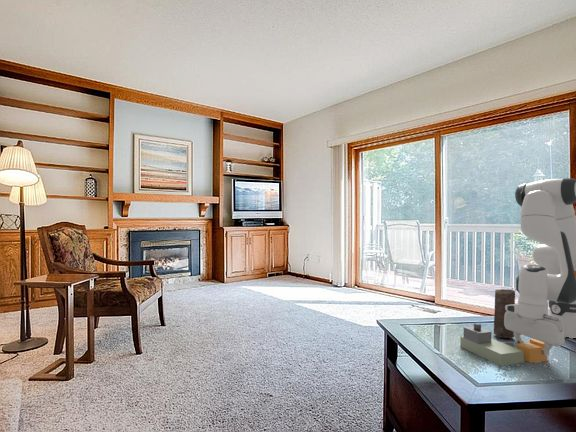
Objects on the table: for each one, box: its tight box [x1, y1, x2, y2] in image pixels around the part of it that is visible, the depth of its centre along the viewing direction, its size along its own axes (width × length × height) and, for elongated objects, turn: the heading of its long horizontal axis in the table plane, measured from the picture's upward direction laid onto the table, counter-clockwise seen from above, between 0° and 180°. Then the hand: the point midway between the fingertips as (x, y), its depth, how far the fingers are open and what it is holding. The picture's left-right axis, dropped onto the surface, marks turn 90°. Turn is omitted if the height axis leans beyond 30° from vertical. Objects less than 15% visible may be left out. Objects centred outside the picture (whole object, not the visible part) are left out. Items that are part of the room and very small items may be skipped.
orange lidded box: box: [516, 338, 548, 364], centre depth 124 cm, size 8×5×6 cm, turn 107°
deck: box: [460, 322, 525, 367], centre depth 129 cm, size 20×18×10 cm
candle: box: [493, 288, 516, 339], centre depth 146 cm, size 8×7×20 cm
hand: (531, 349), depth 124 cm, fingers open, 8 cm apart
